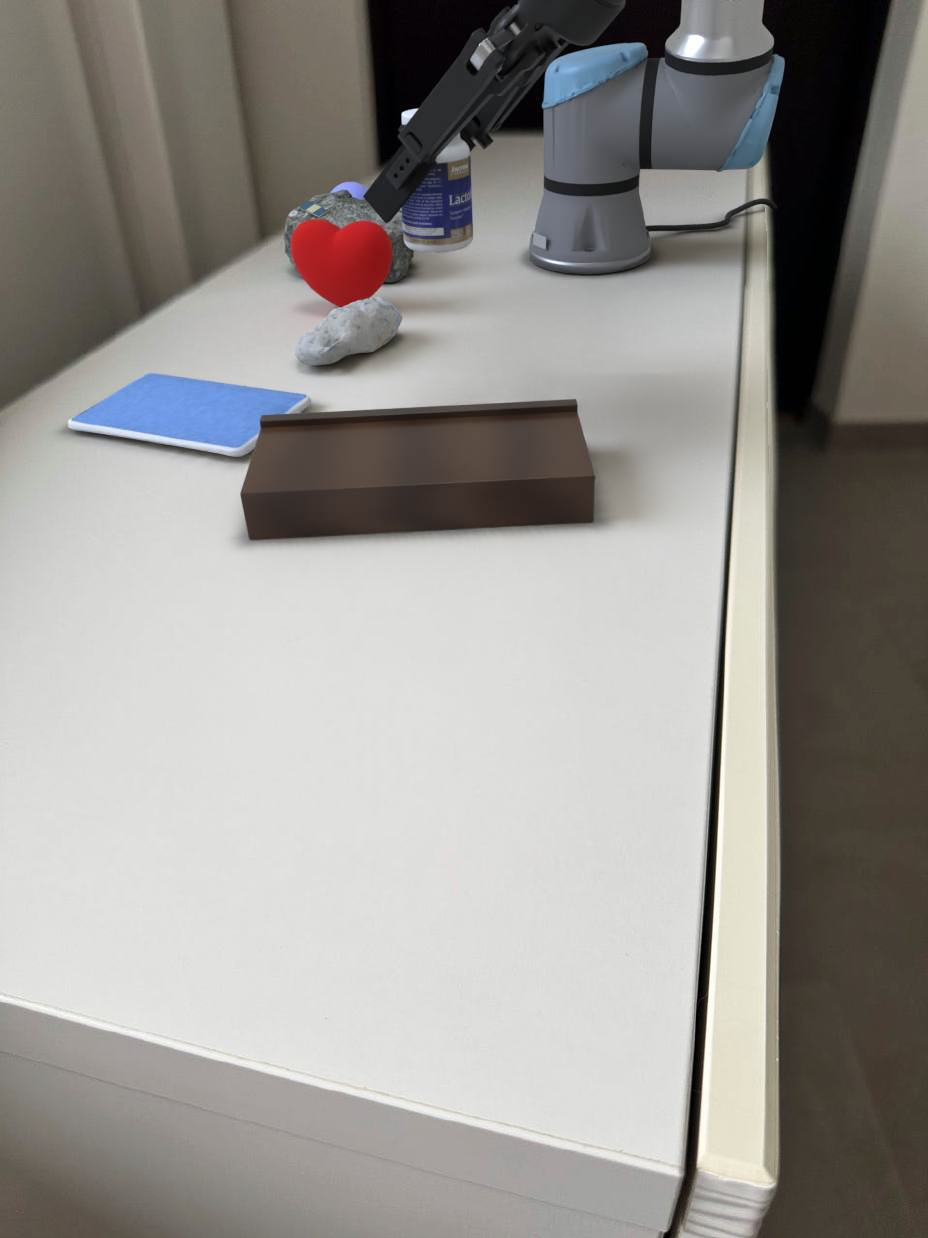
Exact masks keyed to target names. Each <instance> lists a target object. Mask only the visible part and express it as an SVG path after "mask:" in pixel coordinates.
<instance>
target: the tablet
mask: <svg viewBox="0 0 928 1238" xmlns="http://www.w3.org/2000/svg"><path fill="white" fill-rule="evenodd" d="M311 404H312V399H311V397H310V395H308V394H305V393H299V392H292V391H286V390H285V391H284V390H279V389H278V390H277V389H269V388H262V387H255V386H249V385H248V386H247V385H242V384H233V383H227V382H220V381H213V380H212V381H211V380H206V379H200V378H190V377H184V376H177V375H170V374H163V373H156V372H149V373H146V374H145V373H144V375H142V376H140V377H139V378H137V379H135V380H133V381H131V382H130V383H129V384H127V385H125V386H124V387H121V388H120V389H117V391H114V393H111V394H110V395H108V396H107V397H105V398H103V399H101V400H100V401H98V402H96V403H95V404H93V405H91V406H89V407H88V408H86V409H84V410H83V411H81V412H80V413H78V414H76V415H74V416H73V417H71V418H70V419H68V421H67V427H68V429H69V430H71V431H78V432H87V433H93V434H100V435H108V436H114V437H119V438H126V439H132V440H138V441H143V442H148V443H149V442H150V443H155V444H161V445H167V446H174V447H180V448H186V449H192V450H197V451H202V452H207V453H214V454H219V455H224V456H228V457H234V458H235V457H236V458H238V457H239V458H240V457H243V456H246V455H247V454H249V453H251V452H253V451H254V448H255V445H256V442H257V438H258V435H259V432H260V429H261V427H260V418H261V416H262V415H275V414H295V413H303V411H304V410H306V409H307V408H308V407H309V406H311Z"/></svg>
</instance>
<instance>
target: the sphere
mask: <svg viewBox="0 0 928 1238" xmlns="http://www.w3.org/2000/svg"><path fill="white" fill-rule="evenodd" d="M368 189H369V188H367V187H366V186H365V185H363V184H362V183H360V182H356V181H345V182H342V183H339V184H338V185H337V186H335V187H334V188H333V189H332V190H331V191H330V193H333V192H337V191H340V190H348V191H349V193H351V195H352V197H354V198H357V199H360V200H362V199H365V198H364V197H363V196H364V194H365V193H366V192H367V190H368Z"/></svg>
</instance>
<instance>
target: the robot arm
mask: <svg viewBox="0 0 928 1238" xmlns="http://www.w3.org/2000/svg"><path fill="white" fill-rule="evenodd" d="M764 4H765V0H681V9H680V23H679V26H678V27H677V28H676V29H675V31H674V32H672V34H670V36H669V37H668V38H667V39H666V42H665V44H664V57H648V56H649V50H648V49H647V45H646V44H645V43H642V42H629V43H628V42H623V43H614V44H608V45H601V46H596V47H591V48H586V49H582V50H578V51H574V52H571V53H567V54H564V55H562V56H559V55H560V53H561V52H563V50H564V49H565V48H566V47H567V46H568V45H570V44H573V45H575V46H581V47H584V46H590V45H592V44H593V43H595V42H596V41H597V39H599V37H600V36H601V34H603V33H604V32H605V30H606V29H607V28H608V27H609V26H610V24H611V23H612V22H613V21H614V20H615V19H616V17H617V16H618V15H619V14H620V13H621V11H623V9H624V8H625V7H626V0H518V1H517V3H516V4H514V5H513V7H512V8H510V6H506V7H504V8H503V9H502V10H501V11H500V12H499V13H498V14H497V15H496V16H495V18H494V19H493V20H492V21H491V23H490V27H489V30H488V31H487V33H486V31H485V30H484V29H483V28H482V27H478V28H477V29H476V30H474V31H473V32H472V33H471V34H470V37H469V39H468V40H467V42H466V44H465V45H464V47H463V49H462V50H461V52H460V53H459V55H458V56H457V57H456V59H455V61H454V62H453V63H452V64H451V66H450V67H449V69H447V71H446V72H445V74H443V76H442V77H441V79H440V80H439V81H438V83H437V84H436V85H435V86H434V88H433V89H432V90H431V92H430V93H429V94H428V96H427V97H426V98H425V99H424V100H423V102H422V103H421V104H420V106H419V107H418V108H419V109H418V108H417V109H418V110H417V111H416V112H415V114H414V115H413V116H412V118H411V119H410V120H409V122H408V123H407V124H406V125H405V124H402V123H401V125H400V126H399V128H398V131H399V133H398V135H397V138H398V139H399V140H400V142H401V145H400V147H399V148H398V149H397V150H396V152H395V154H394V155H393V156H392V157H391V159H389V161H388V162H387V164H386V165H385V167H383V169H382V171H381V172H380V173H379V175H378V176H376V179H375V180H374V181H373V183H371V184H370V186H369V188H367V189H368V190H367V192H366V193H365V194H364V196H363V197H364V198H365V200H366V201H367V202H368V203H369V204H370V206H371V207H372V208H373V209H374V210H375V211H376V213H377V214H378V215H379V216H380V217H381V219H382V220H383V221H384V222H385V223H388V222H390V221H391V220H392V219H393V217H394V216H395V215H396V214H397V212H398V211H399V210H402V206H403V205H404V204H405V203H406V201H407V200H408V199H409V198H410V196H411V195H412V194H413V193H414V191H415V190H416V189H417V188H418V186H419V185H420V184H421V183H422V181H423V180H424V179H425V178H426V176H427V175H428V174H429V173H430V172H431V170H432V169H433V168H434V167H435V165H436V164H437V162H436V161H435V160H436V159H437V158H436V157H437V156H438V155H439V154H440V153H441V152H442V151H443V150H444V149H445V148H446V146H447V145H448V144H449V143H450V142H451V141H452V140H453V139H454V138H455V137H456V136H457V135H458V133H459V132H460V138H461V139H462V140H463V141H465V142H466V143H467V145H468V147H469V149H470V153H471V152H472V151H473V150H474V149H475V147H476V146H477V145H476V144H475V142H474V140H475V141H476V142H477V143H478V145H479V146H480V147H481V148H482V150H486V149H487V148H489V147H490V146H491V145H492V143H494V139H493V138H492V137H491V135H489V132H490V131H491V132H494V131H497V130H499V129H500V128H501V127H502V124H503V123H504V122H505V120H506V119H507V118H508V117H509V115H510V114H511V113H512V112H513V110H514V109H515V108H516V107H517V106H518V104H519V103H520V102H521V100H522V99H523V98H524V97H525V96H526V94H527V93H528V92H529V91H530V89H532V87H533V86H534V85H535V83H536V82H538V80H539V78H540V77H541V76H542V75H543V74H544V89H543V101H542V103H541V108H542V109H543V194H542V198H541V202H540V205H539V209H538V213H537V217H536V222H535V228H534V230H533V232H532V233H531V234H530V237H529V246H528V256H529V257H528V258H529V260H530V261H531V263H533V264H534V265H536V266H538V267H540V268H543V269H545V270H549V271H552V272H556V273H557V272H559V273H564V274H573V275H574V274H575V275H576V274H577V275H596V274H598V275H599V274H609V273H615V272H621V271H622V272H623V271H626V270H631V269H633V268H636V267H639V266H641V265H642V264H644V263H646V262H647V261H648V260H649V259H650V258H651V257H650V256H651V245H652V244H651V235H650V233H651V232H653V233H654V232H684V231H705V230H706V231H707V230H714V229H719V228H723V227H725V226H727V225H729V223H730V222H731V219H732V217H735V216H736V215H738V214H740V213H742V212H744V211H746V210H747V209H750V208H752V207H755V206H759V205H765V206H767V207H769V208H770V209H771V210H777V209H778V206H777V204H776V203H775V202H774V201H773V200H771V199H769V198H761V197H760V198H756V199H752V200H750V201H747V202H745V203H743V204H741V205H739V206H736V207H735V208H734V209H730V210H729V211H727V212H726V214H725V216H724V219H722V220H719V221H717V222H716V221H715V222H708V223H707V222H706V223H691V224H689V223H688V224H652V225H651V224H650V225H646V220H645V215H644V208H643V204H642V200H641V194H640V177H641V176H640V174H641V170H657V171H658V170H659V171H660V170H669V171H670V170H671V171H672V170H675V171H677V170H678V171H679V170H681V171H715V172H716V173H722V172H723V171H735V170H739V171H740V170H749V169H752V168H753V167H755V166H756V165H757V164H759V162H760V161H761V160H762V158H763V157H764V153H765V151H766V147H767V144H768V141H769V137H770V133H771V130H772V126H773V122H774V118H775V114H776V110H777V105H778V101H779V95H780V91H781V86H782V83H783V78H784V72H785V64H786V63H785V58H784V57H783V56H779V54H777V53H775V54H773V53H774V44H775V38H774V36H773V34H772V33H771V32H770V31H769V30H768V29H767V28H766V26H765V25H764V24H763V14H764ZM558 56H559V57H558ZM544 72H545V73H544Z"/></svg>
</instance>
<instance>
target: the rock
mask: <svg viewBox="0 0 928 1238" xmlns="http://www.w3.org/2000/svg"><path fill="white" fill-rule="evenodd" d="M311 219H320V220H325V221H328V222H330V223H332V224H334V225H336V226H338V227H339V228H341V229H342V228H343V227H345V226H346V225H348V224H350V223H352V222H355V221H363V220H364V221H371V222H374V223H376V224H378V225H380V226H381V227H382V228H383V229H384V230H385V231H386V233H387V234H388V236H389V238H390V241H391V245H392V262H391V267H390V270H389V273H388V275H387V277H386V279H385V281H384V283H396V282H398V281H400V280H402V278H404V277H407V276H408V270H409V268H410V264H411V261H412V260H413V259H414V256H415V255H414V250H412V249H410V248H408V247H407V246H406V244H405V242H404V237H403V222H402V209H400V210H399V211H398V212H397V214H396V215H395V216H394V217H393V219H392V220H391V221H390V222H388V223H385V222H384V221H383V220H382V219H381V217H380V216H379V215H378V214H377V213H376V211H375V210H374V209H373V208H372V207H371V206H370V204H369V203H368V202H367V201H366V200H365V199H362V200H360V199H357V198H354V197H352V195H351V193H349V191H348V190H340V191H337V192H333V193H331V192H326V193H321V194H316V195H314V196H312V197H310V198H309V199H308V200H307V201H306V202H304V203H302V204H301V205H299V206H297V207H295V208H293V209H292V210H291V211H290V212H289V214H288V215H287V217H286V218H285V219H284V221H285V228H284V230H283V231H284V233H283V242H284V253H285V255H286V256H287V257H288V259H289V262H290V264H291V266H292V267H293V268H294V270H295V272H296V273H297V274H299V275H300V273H299V271H298V270H297V268H296V265H295V263H294V260H293V257H292V253H291V238H292V234H293V232H294V230H295V229H296V227H297V226H298V225H299V224H301V223H302V222H304V221H307V220H311Z"/></svg>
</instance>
